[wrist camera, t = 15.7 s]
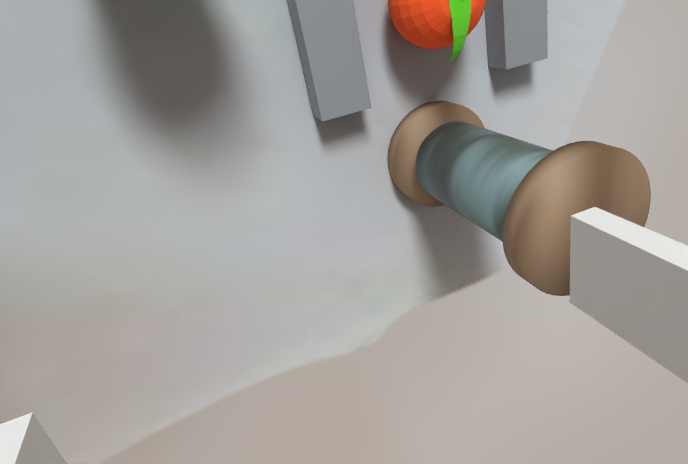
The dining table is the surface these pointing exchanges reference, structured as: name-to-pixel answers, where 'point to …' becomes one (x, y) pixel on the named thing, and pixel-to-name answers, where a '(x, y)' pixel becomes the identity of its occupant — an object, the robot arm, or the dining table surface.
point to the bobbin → (514, 185)
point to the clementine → (436, 21)
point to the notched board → (346, 56)
